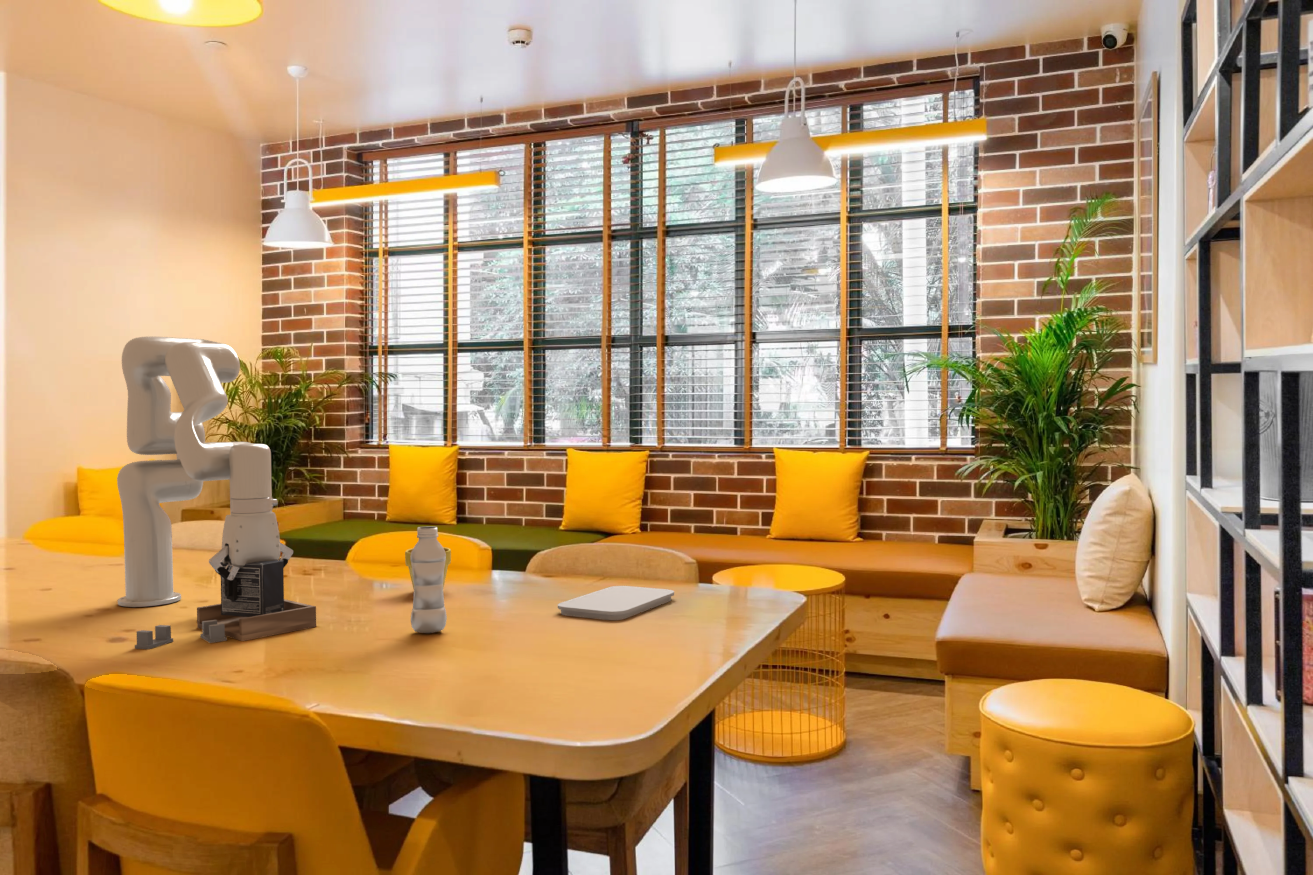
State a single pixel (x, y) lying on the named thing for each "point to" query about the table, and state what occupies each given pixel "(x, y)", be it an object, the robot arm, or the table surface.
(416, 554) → the plastic bottle
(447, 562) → the plant pot
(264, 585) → the small box
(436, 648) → the table surface
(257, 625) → the holder
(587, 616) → the tablet
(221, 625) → the clip
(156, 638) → the clip
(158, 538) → the robot arm
